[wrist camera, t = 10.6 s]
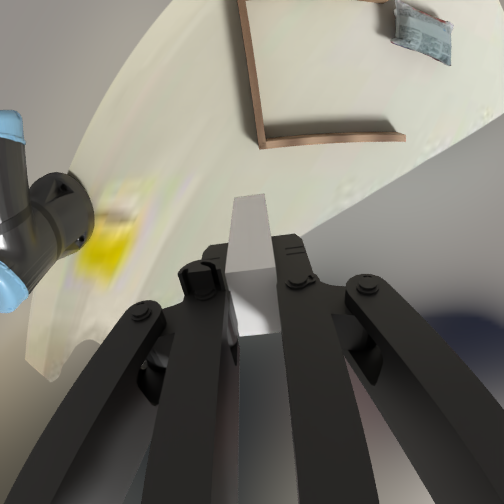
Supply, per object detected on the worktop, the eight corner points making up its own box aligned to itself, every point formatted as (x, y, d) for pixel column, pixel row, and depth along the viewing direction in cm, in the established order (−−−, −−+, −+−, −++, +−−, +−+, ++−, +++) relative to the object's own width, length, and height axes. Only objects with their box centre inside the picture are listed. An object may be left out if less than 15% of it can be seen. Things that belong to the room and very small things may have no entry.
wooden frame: (258, 146, 41) (259, 149, 38) (236, -4, 29) (235, -11, 26) (397, 138, 39) (405, 141, 37) (381, -2, 27) (389, -7, 25)
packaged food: (386, -1, 27) (400, -8, 23) (447, 25, 27) (463, 23, 23) (384, 45, 32) (398, 41, 27) (445, 68, 32) (462, 69, 28)
